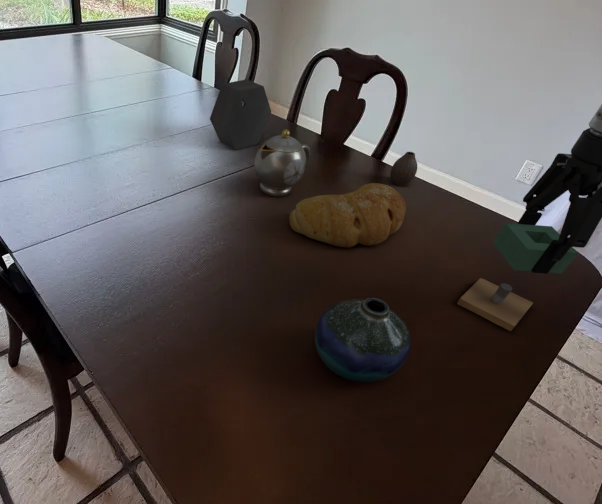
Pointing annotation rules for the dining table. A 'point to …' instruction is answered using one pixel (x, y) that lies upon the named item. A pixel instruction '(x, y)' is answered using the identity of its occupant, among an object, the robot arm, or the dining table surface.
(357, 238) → the bread
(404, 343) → the vase
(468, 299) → the wooden peg base
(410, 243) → the dining table surface
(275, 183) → the teapot
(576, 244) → the robot arm
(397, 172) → the vase
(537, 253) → the green block with hole
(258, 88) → the planter
